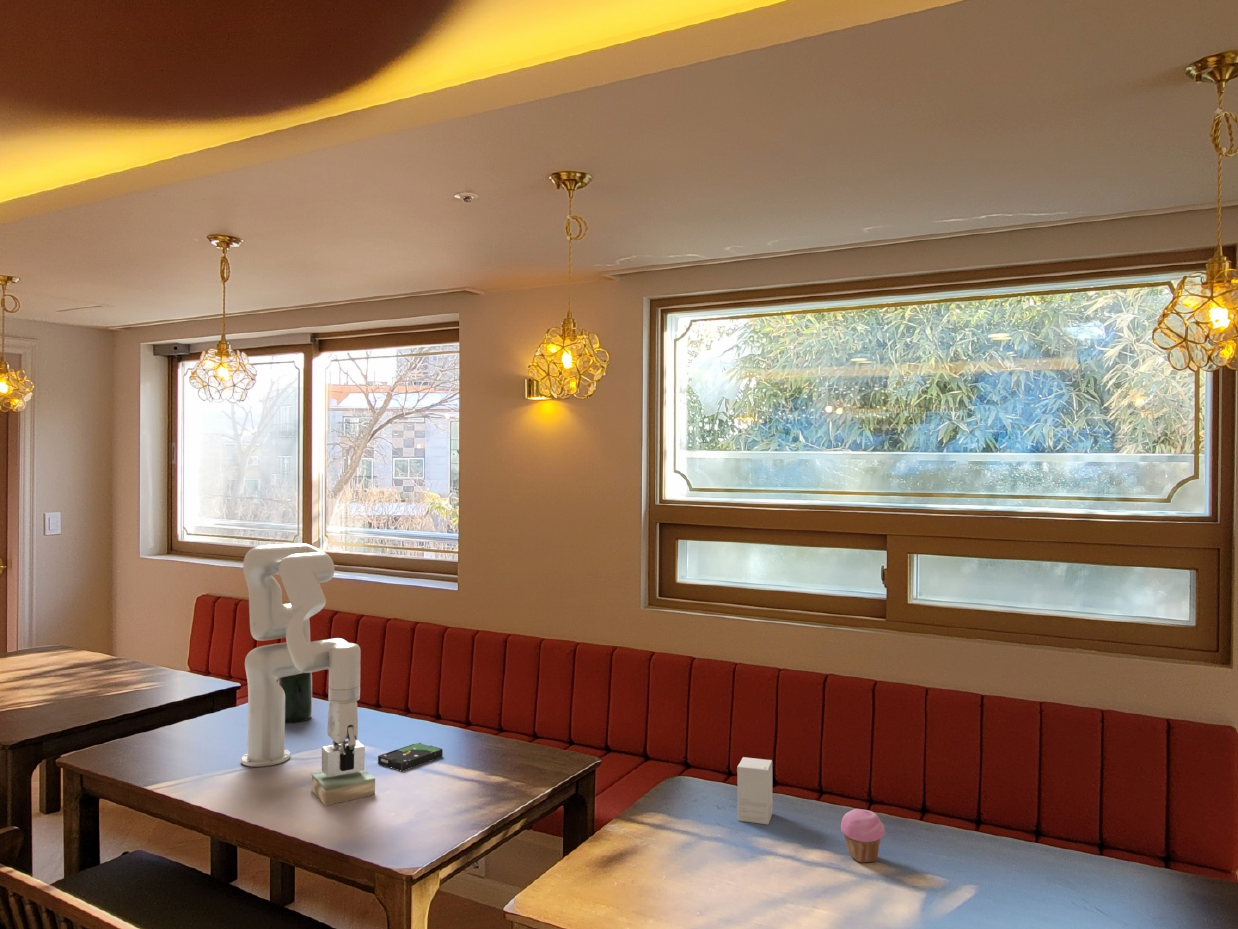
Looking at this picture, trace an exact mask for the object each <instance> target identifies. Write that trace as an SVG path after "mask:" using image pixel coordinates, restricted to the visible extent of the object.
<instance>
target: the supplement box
mask: <svg viewBox="0 0 1238 929" xmlns="http://www.w3.org/2000/svg"><path fill="white" fill-rule="evenodd" d="M736 766H737V768H736V772H737V821H739V822H748V823H754V824H755V823H756V824H762V825H769V824H770V821H771V818H772V816H773V809H774V808H773V806H774V805H773V760H772V759H763V758H755V757H754V758H753V757H747V756H746V757H745V756H743V757H742V758H741V760H740V762H739V763H738V765H736Z"/></svg>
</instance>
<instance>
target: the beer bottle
mask: <svg viewBox="0 0 1238 929" xmlns="http://www.w3.org/2000/svg"><path fill="white" fill-rule="evenodd" d="M312 673H313V672H310V673H301V674H297V675H292V676H287V677H282V678H279V679H278V681H277V682H278V683H279V685H280V686H281V687H282V688H283V690H284V692H285V723H287V724H288V723H289V722H292V723H299V722H304V721H307V720H309V719H310V718H311V717H312V714H313V675H312Z"/></svg>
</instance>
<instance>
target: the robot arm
mask: <svg viewBox="0 0 1238 929" xmlns="http://www.w3.org/2000/svg"><path fill="white" fill-rule="evenodd" d="M242 563H243V564H242V566H243V568H242V569H243V571H242V572H243V576H244V579H245V581H246V585H247V589H248V608H249V609H248V610H249V630H250V634H251V636H252V638H253V639H254V640H256V641H272V640H278V639H284V638H285V641H286V642H281V643H280V642H279V643H273V644H272V643H271V644H267V645H266V644H265V645H261V646H258V647H255V648H253V649H252V650H250V651H249V652H248V653H247V654H246V655H245V659H244V669H245V674H246V679H247V692H248V694H247V695H248V696H247V697H248V699H247V701H248V703H247V707H248V708H247V749H246V752H247V753H245V754H243V755H242V756H241V757H240V760H241V761H240V762H241V765H243V766H246V767H251V768H252V767H255V768H258V767H259V768H260V767H261V768H262V767H269V766H275V765H278V764H281V763H284V762H286V761H288V760H289V759H290V758H291V751H289V750H288V749H285V746H286V745H285V744H286V742H285V741H286V740H285V737H286V736H285V735H286V733H285V732H286V731H285V730H286V722H285V692H284V690H283V688H282V687H281V686H280V685H279V683H278V682H279V681H278V680H279V678H282V677H287V676H292V675H297V674H301V673H310V672H312V673H315V672H320V671H324V670H328V697H327V698H328V700H327V701H328V702H329V705H328V715H327V731H326V732H327V736H328V737H329V738H331V740H332V745H334V744H341V746H342V755H341V761H340V770H341V771H346V770H351V769H354V752H355V750H354V748H355V745H356V741H358V740H357V739H358V735H359V717H358V716H359V713H358V701H359V700H360V699H361V650H362V649H361V647H360V645H359V644H357V643H353V642H349V641H347V639H346V640H345V639H344V638H340V637H335V638H328V639H320V640H313V641H311V623H310V619H311V617H313V616H314V615H316V614H318V613H319V612H321V611H322V610H323V609H324V607H325V606H326V605H327V604H326V603H327V599H326V596H325V594H324V591H323V589H322V587H321V583H326V582H329V581H330V580H332V579H333V577H334V575H335V563H334V561H333V559H332V557H331V556H330V555H329V554H328V553H327V552H325V551H323V550H322V549H319V548H317V547H315V546H313V545H311V544H308V543H304V542H303V543H302V542H296V543H277V544H276V543H275V544H266V545H265V544H264V545H258V546H256V547H255V546H254V547H253V548H251V549H249V550H248V551H246V554H245V555H244V558H243V562H242ZM276 575H279V577H280V579H281V582H282V585H283V587H284V590H285V592H286V593H285V594H286V596H287V598H288V601H289V603H283V590H282V587H281V584H280V583H279V582H278V581H277V579H276V578H275V577H274V576H276ZM348 743H349V744H348ZM345 744H348V746H346V748H345Z"/></svg>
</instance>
